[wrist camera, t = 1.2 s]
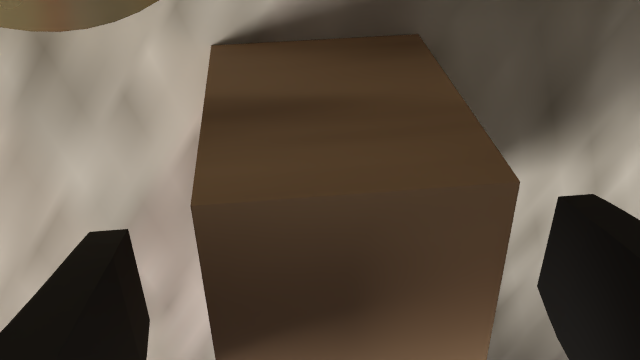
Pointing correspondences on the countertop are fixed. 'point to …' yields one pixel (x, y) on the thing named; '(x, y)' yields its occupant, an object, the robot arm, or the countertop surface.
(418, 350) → the walnut block
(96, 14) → the balance
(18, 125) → the countertop surface
